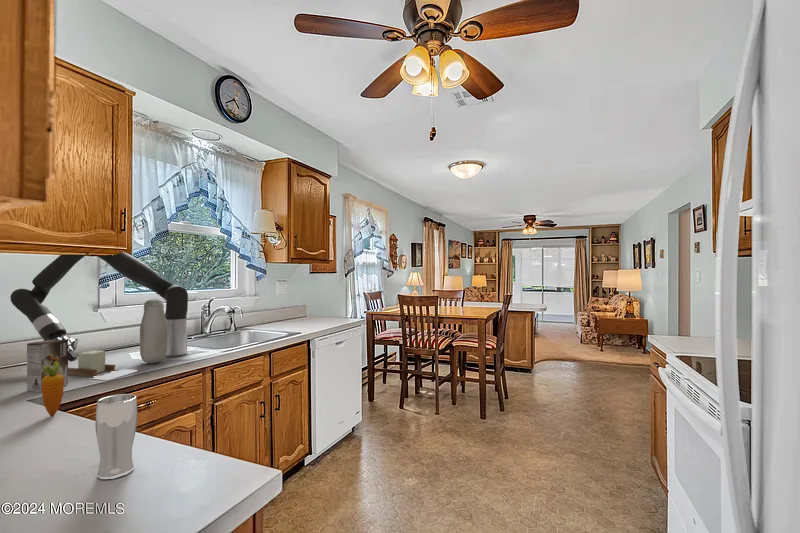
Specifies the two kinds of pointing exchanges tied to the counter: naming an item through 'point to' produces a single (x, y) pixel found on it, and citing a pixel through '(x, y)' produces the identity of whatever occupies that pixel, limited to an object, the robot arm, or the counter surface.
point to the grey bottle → (153, 332)
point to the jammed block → (92, 360)
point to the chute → (89, 370)
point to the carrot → (52, 389)
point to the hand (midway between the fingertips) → (74, 359)
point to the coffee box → (45, 361)
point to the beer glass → (116, 433)
